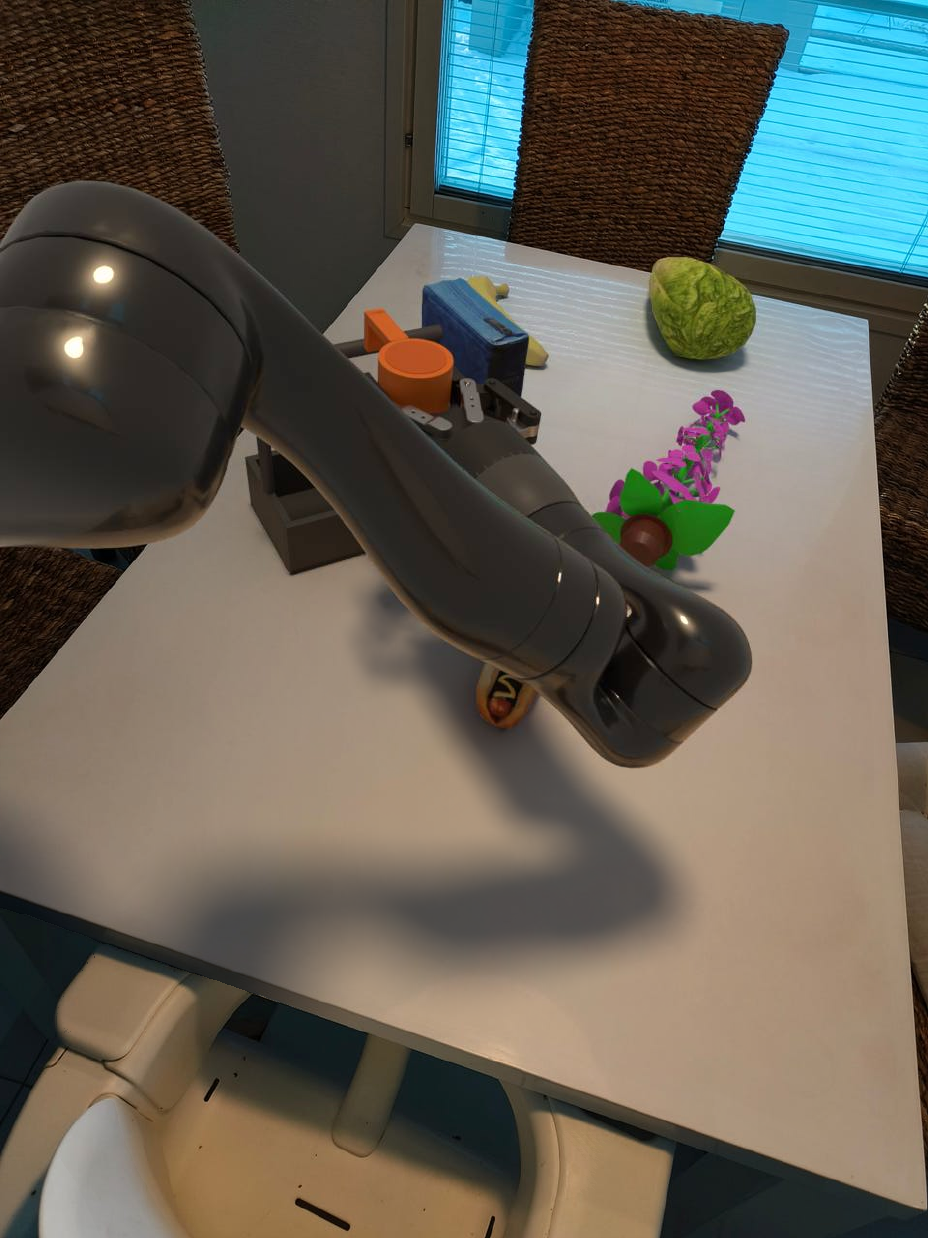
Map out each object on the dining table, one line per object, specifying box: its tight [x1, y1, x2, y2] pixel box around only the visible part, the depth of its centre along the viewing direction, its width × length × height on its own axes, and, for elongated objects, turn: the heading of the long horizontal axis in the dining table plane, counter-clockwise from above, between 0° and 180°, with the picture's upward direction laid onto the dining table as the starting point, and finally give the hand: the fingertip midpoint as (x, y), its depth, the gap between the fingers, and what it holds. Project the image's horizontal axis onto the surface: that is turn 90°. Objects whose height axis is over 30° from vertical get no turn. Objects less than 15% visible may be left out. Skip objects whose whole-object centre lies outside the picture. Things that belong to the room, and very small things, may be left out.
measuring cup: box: [363, 307, 454, 414], centre depth 67 cm, size 10×6×9 cm, turn 28°
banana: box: [465, 275, 550, 367], centre depth 117 cm, size 14×6×20 cm
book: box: [421, 277, 530, 416], centre depth 88 cm, size 14×5×20 cm, turn 31°
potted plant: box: [591, 389, 746, 572], centre depth 92 cm, size 12×16×35 cm
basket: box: [244, 325, 443, 576], centre depth 81 cm, size 18×12×20 cm, turn 119°
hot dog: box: [475, 662, 537, 730], centre depth 73 cm, size 5×13×5 cm, turn 160°
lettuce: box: [648, 256, 757, 361], centre depth 119 cm, size 12×24×13 cm
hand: (399, 376), depth 66 cm, fingers closed on measuring cup, 5 cm apart
